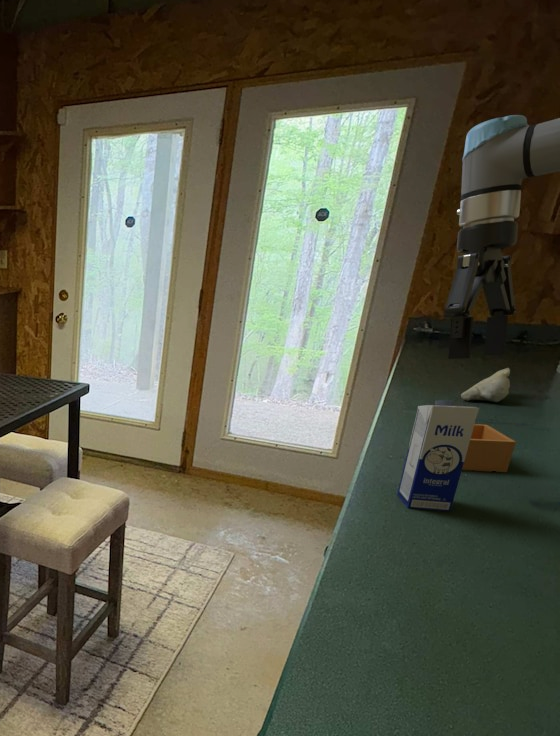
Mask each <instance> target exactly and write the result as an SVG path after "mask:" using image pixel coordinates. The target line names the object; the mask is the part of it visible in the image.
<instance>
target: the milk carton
mask: <svg viewBox="0 0 560 736" xmlns="http://www.w3.org/2000/svg"><path fill="white" fill-rule="evenodd" d="M479 410H480V407H476V406H461V405H455V400H450V399H434V404H426V405H425V404H424V405H418V406H417V411H416V415H415V419H414V424H413V427H412V432H411V436H410V439H409V444H408V448H407V451H406V456H405V459H404V460H405V461H404V465H403V468H402V472H401V477H400V480H399V481H400V482H399V486H398V489H397V494H396V495H397V497H398V498H399V499H400V500H401V501H402V502H403V504H404V505H405V506H406V508H407V509H416V510H427V511H429V510H430V511H439V512H451V511H452V507H453V504H454V499H455V496H456V492H457V489H458V485H459V482H460V477H461V475H462V471H463V470H462V468H463V464H464V460H465V457H466V453H467V450H468V446H469V442H470V439H471V435H472V432H473V428H474V424H476V420H477V417H478V413H479Z"/></svg>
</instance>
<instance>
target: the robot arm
mask: <svg viewBox="0 0 560 736" xmlns="http://www.w3.org/2000/svg"><path fill="white" fill-rule="evenodd" d="M464 143H465V144H464V150H463V156H462V160H461V162H462V171H461V192H460V203H459V204H460V208H458V209H457V210H456V215H458V216H459V221H458V226H459V227H461V229H460V230H459V231H458V232H457V241H456V242H457V243H456V244H457V245H456V252H458V254H461V255H458V256H457V260H456V261H457V262H456V268H455V273H454V276H453V280H452V283H451V286H450V290H449V293H448V297H447V300H446V304H445V306H444V311H443V312H444V313H443V318H444V319H447V320H448V319H450V328H449V329H450V330H449V343H448V344H449V345H448V355H447V360H460V359H471V350H472V340H473V339H472V337H473V326H474V322H473V321H474V316H471V314H472V311H473V309H474V307H475V304H476V302H477V300H478V298H479V296H480V293H481V291H482V290H483V294H484V297H485V301H486V305H487V308H488V313H489V316H487V317H486V325H485V327H486V328H485V338H484V339H485V340H484V341H485V342H484V350H483V351H484V352H483V355H484V356H492V355H493V356H494V355H495V356H496V355H497V356H498V355H506V348H507V337H508V328H509V327H508V326H509V316H514V315H516V313H517V308H516V303H515V293H514V285H513V276H512V255H511V254H508V255H503V250H504V249H508V248H512V247H514V246H515V245H516V244H517V240H518V232H519V231H518V230H519V223H518V222H517V221H516V219H517V218H519V217H520V213H521V212H520V211H521V210H520V209H521V200H522V199H521V198H522V197H521V196H522V183H523V180H524V179H527V178H534V177H538V176H542V175H543V176H544V175H548V174H553V173H557V172H560V117H557V118H555V119H551V120H548V121H543V122H540V123H535V124H528V119H527V117H526V116H525V115H522V114H511V115H506V116H503V117H496V118H492V119H488V120H486V121H483V122H480V123H478V124H476V125H475V126H473V127H472V128H470V130H469V131H468V132H467V133H466V137H465V142H464Z"/></svg>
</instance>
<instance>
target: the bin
mask: <svg viewBox="0 0 560 736" xmlns="http://www.w3.org/2000/svg"><path fill="white" fill-rule="evenodd" d="M516 443H517V441H515V440H514V439H512V438H510V437H508V436H507V435H505V434H504V433H502V432H500V431H498V430H497V429H495V428H493V427H492V426H490V425H488V424H480V423H477V424H476V423H475V424H474V428H473V432H472V435H471V439H470V442H469V446H468V450H467V453H466V457H465V460H464V464H463V468H462V471H473V470H474V472H475V471H476V472H492V471H496V472H495V473H507V472H508V470H509V467H510V463H511V461H512V460H511V459H512V456H513V453H514V450H515V447H516Z"/></svg>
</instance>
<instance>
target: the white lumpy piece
mask: <svg viewBox="0 0 560 736" xmlns="http://www.w3.org/2000/svg"><path fill="white" fill-rule="evenodd" d="M510 374H511V369H510V368H509V367H506V368H504V369H499V370H498V371H496V372H495V373H493V374H492V375H491V376H489V377H485V378H484V379H482V380H480V381H478V383H475V384H474V385H473V386H471V387H469V388H468V389H466V390H465V391H464V392H462V393H461V394H460V398H461V399H462V401H465V400H466V401H488V402H493V403H499V402H500V401H502V400H504V399H505V398H506V397H507V396H508V395H509V394H510V393H509V389H510V387H511V384H510V383H511V382H510V381H511V380H510V379H509V378H508V377H509V376H510Z"/></svg>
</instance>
